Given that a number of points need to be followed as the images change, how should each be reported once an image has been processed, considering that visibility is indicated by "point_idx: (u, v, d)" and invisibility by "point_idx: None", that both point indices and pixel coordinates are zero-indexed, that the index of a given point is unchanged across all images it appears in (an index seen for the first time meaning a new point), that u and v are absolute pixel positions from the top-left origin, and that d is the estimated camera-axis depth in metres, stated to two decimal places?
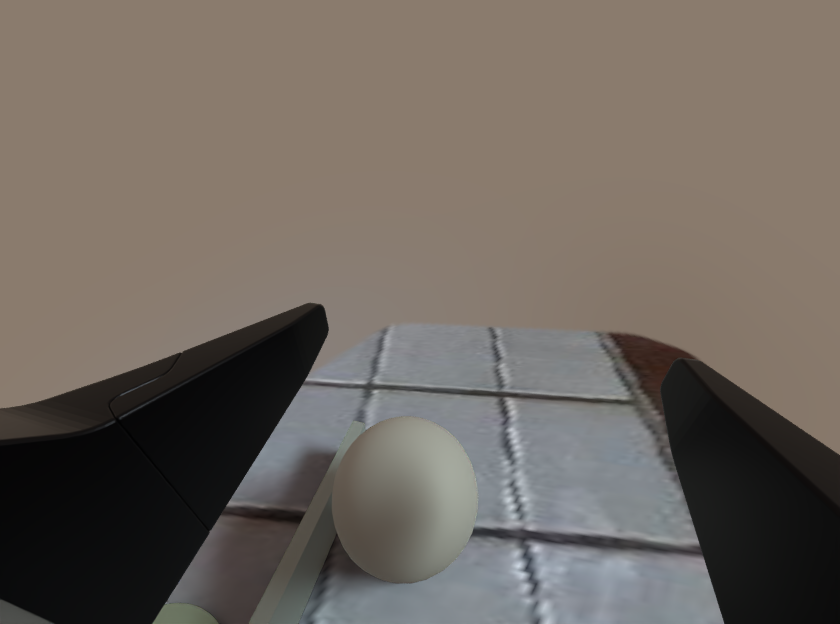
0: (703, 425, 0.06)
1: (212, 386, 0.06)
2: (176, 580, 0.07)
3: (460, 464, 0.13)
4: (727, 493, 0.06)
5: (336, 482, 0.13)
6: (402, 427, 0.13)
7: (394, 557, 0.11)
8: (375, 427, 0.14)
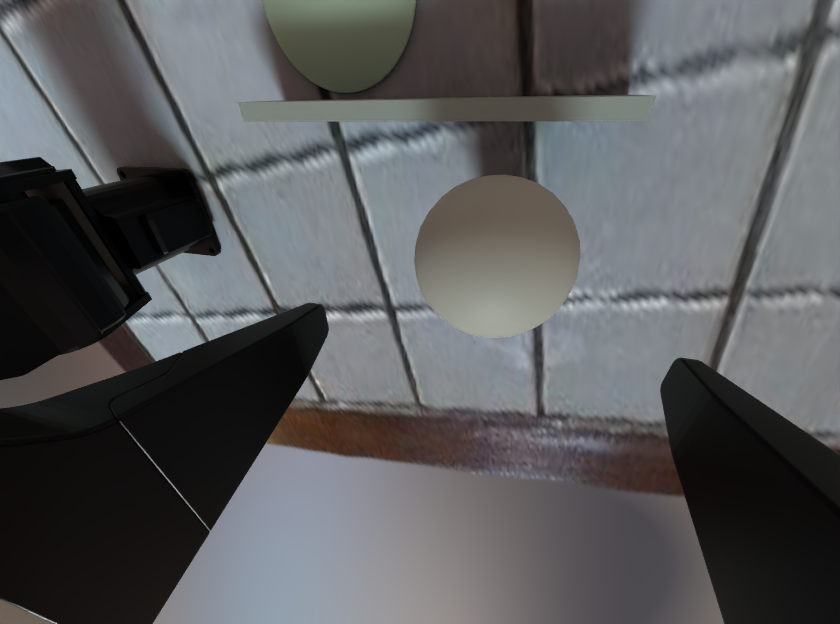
0: (703, 425, 0.06)
1: (212, 386, 0.06)
2: (176, 580, 0.07)
3: (500, 336, 0.12)
4: (727, 493, 0.06)
5: (464, 202, 0.10)
6: (526, 286, 0.10)
7: (417, 277, 0.13)
8: (532, 242, 0.10)
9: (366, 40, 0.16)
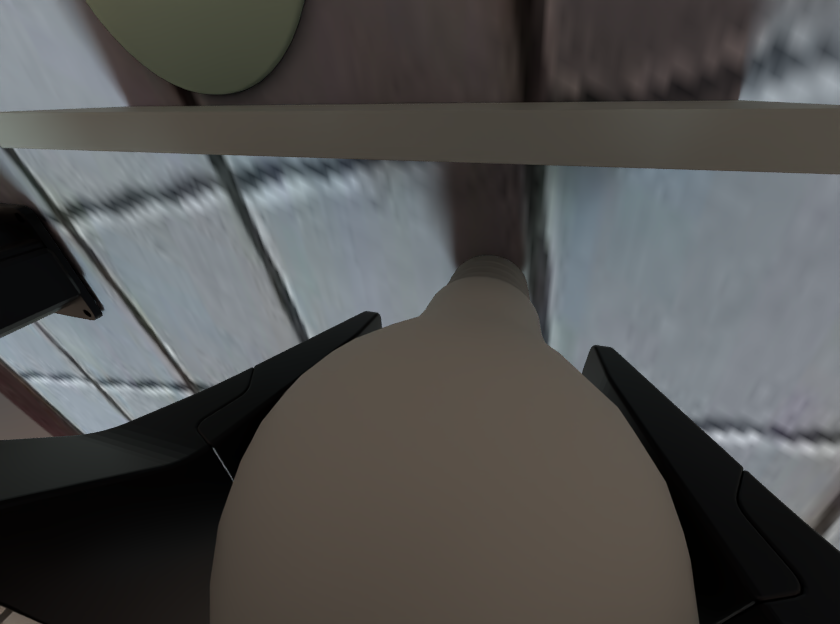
0: None
1: None
2: None
3: None
4: None
5: (295, 506, 0.03)
6: None
7: None
8: None
9: None
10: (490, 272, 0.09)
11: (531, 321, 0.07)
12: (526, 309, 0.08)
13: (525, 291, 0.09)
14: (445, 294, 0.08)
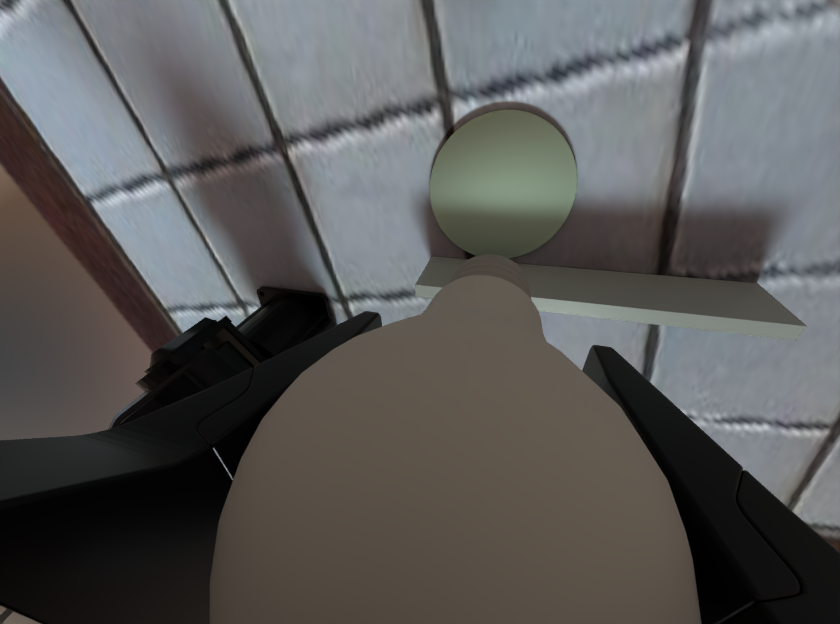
0: None
1: None
2: None
3: None
4: None
5: (295, 503, 0.03)
6: None
7: None
8: None
9: (520, 227, 0.19)
10: (492, 271, 0.09)
11: (532, 320, 0.07)
12: (527, 308, 0.08)
13: (526, 290, 0.09)
14: (446, 293, 0.08)
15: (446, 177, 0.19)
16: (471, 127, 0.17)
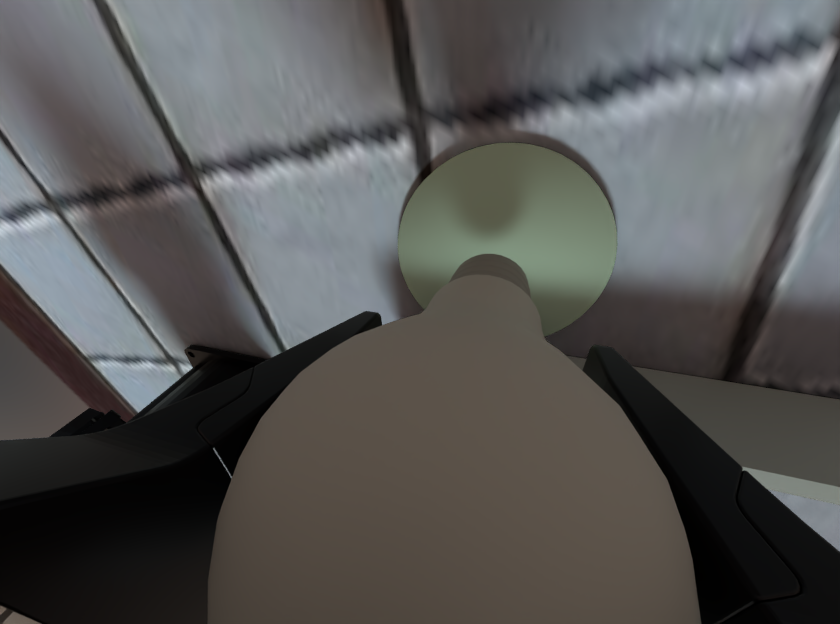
0: None
1: None
2: None
3: None
4: None
5: (292, 502, 0.03)
6: None
7: None
8: None
9: None
10: (491, 270, 0.09)
11: (532, 319, 0.07)
12: (527, 307, 0.08)
13: (526, 290, 0.09)
14: (446, 292, 0.08)
15: (421, 234, 0.13)
16: (457, 167, 0.11)
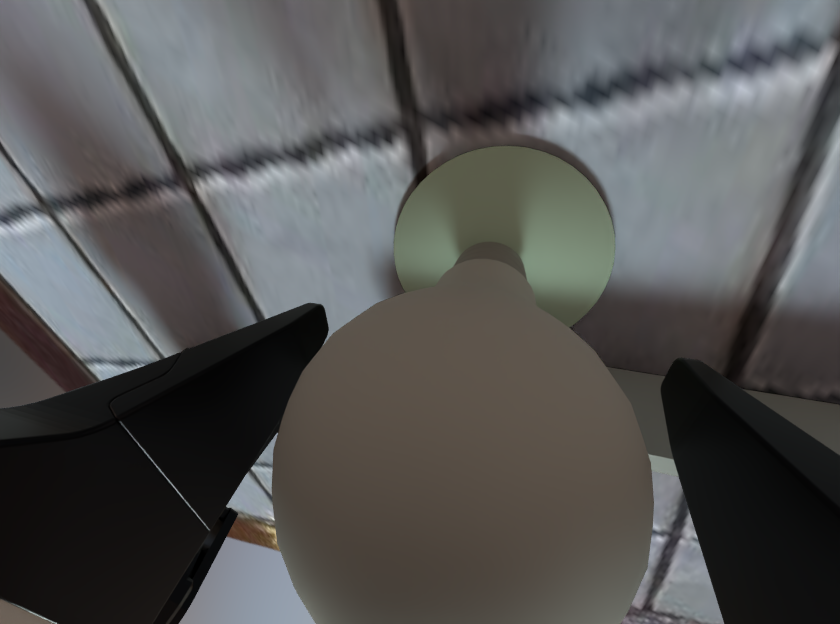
0: (703, 425, 0.06)
1: (212, 386, 0.06)
2: (176, 580, 0.07)
3: None
4: (727, 493, 0.06)
5: (342, 409, 0.04)
6: None
7: None
8: (528, 584, 0.03)
9: None
10: (490, 255, 0.10)
11: (526, 294, 0.08)
12: (522, 285, 0.09)
13: (522, 272, 0.10)
14: (449, 275, 0.09)
15: (417, 237, 0.13)
16: (453, 170, 0.11)
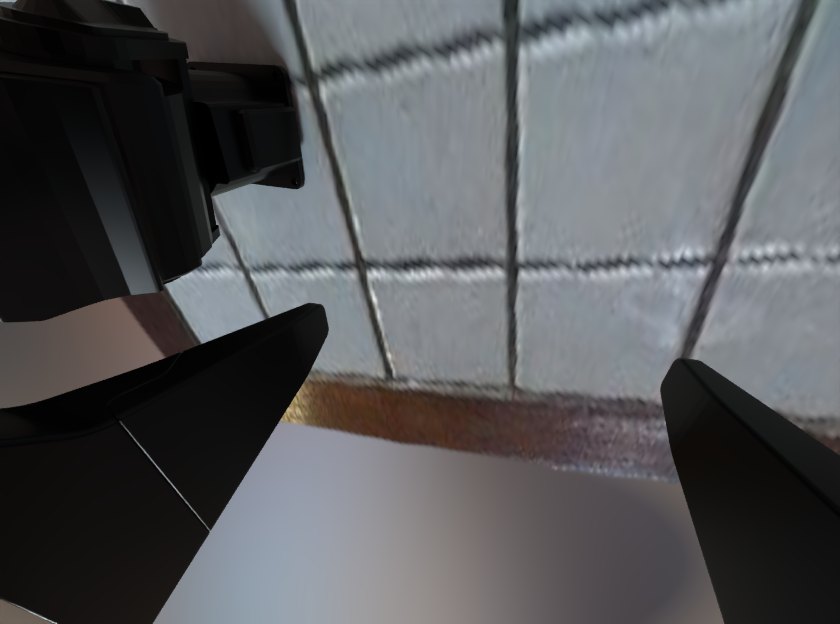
0: (703, 425, 0.06)
1: (212, 386, 0.06)
2: (176, 580, 0.07)
3: None
4: (727, 493, 0.06)
5: None
6: None
7: None
8: None
9: None
10: None
11: None
12: None
13: None
14: None
15: None
16: None
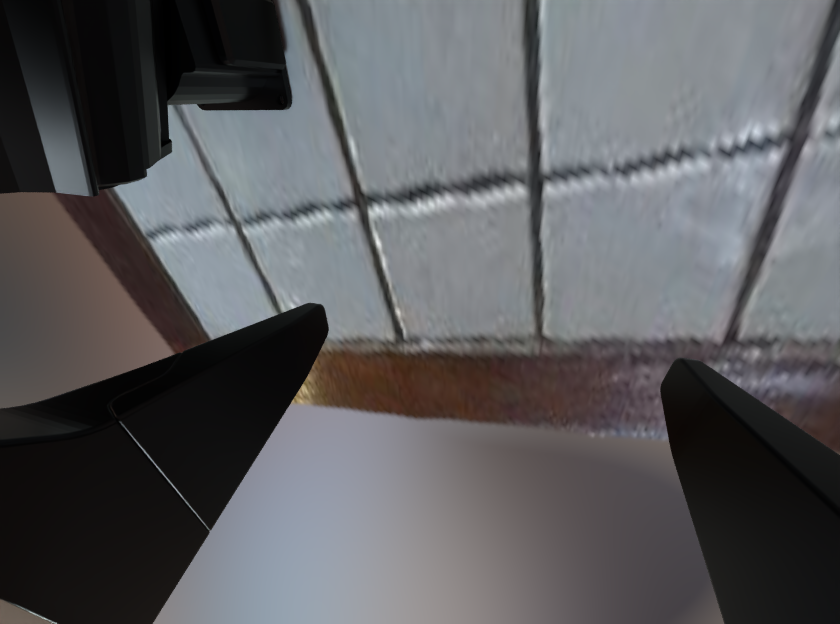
0: (703, 425, 0.06)
1: (212, 386, 0.06)
2: (176, 580, 0.07)
3: None
4: (727, 493, 0.06)
5: None
6: None
7: None
8: None
9: None
10: None
11: None
12: None
13: None
14: None
15: None
16: None
